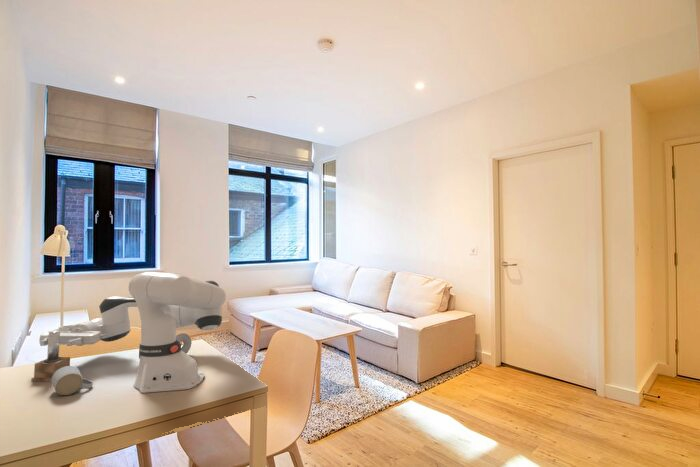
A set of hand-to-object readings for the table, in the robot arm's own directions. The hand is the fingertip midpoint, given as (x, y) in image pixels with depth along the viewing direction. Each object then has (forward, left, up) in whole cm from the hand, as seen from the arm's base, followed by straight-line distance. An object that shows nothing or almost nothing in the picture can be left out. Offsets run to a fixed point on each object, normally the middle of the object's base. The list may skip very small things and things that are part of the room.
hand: (55, 343), depth 127 cm
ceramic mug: (-16, +13, -12) cm, 24 cm away
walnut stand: (0, +1, -12) cm, 12 cm away
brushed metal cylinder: (0, +1, -5) cm, 5 cm away
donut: (-36, -22, -12) cm, 44 cm away
